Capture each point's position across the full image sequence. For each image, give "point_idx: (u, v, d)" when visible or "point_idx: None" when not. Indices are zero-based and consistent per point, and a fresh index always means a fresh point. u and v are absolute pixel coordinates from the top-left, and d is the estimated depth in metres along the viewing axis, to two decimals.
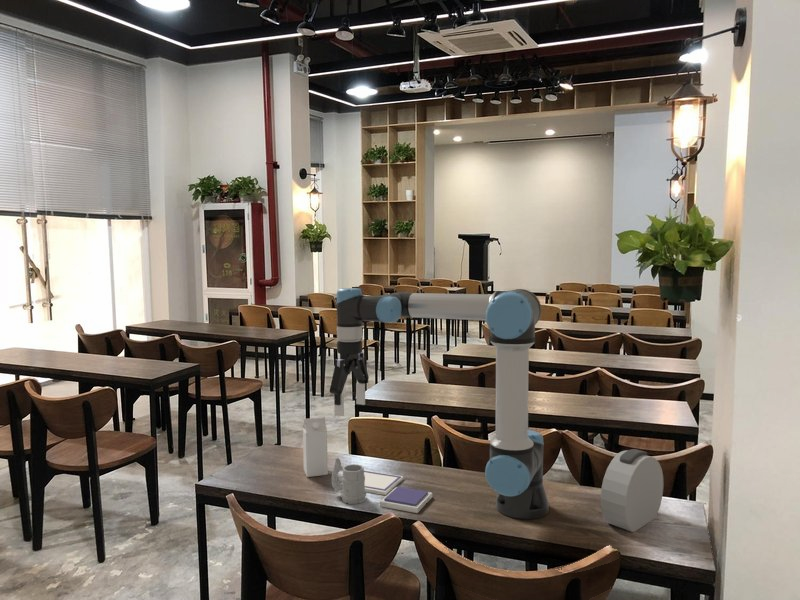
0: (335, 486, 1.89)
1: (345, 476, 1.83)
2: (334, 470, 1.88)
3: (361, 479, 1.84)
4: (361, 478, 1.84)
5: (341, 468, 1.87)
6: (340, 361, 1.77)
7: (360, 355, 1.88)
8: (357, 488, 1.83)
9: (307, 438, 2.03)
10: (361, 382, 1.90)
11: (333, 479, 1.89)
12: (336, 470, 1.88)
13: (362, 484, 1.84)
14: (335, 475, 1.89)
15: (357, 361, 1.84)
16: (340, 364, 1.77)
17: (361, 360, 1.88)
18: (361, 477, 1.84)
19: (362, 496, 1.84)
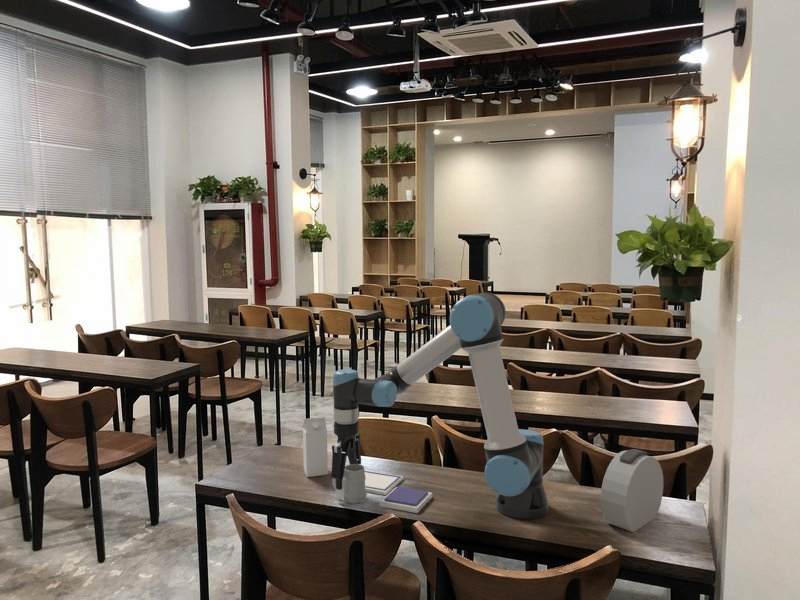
0: None
1: (346, 476, 1.84)
2: None
3: (362, 478, 1.84)
4: (362, 478, 1.84)
5: None
6: (337, 448, 1.80)
7: (356, 436, 1.91)
8: (358, 488, 1.83)
9: (307, 438, 2.03)
10: None
11: (334, 479, 1.89)
12: None
13: (362, 484, 1.85)
14: None
15: (353, 441, 1.87)
16: (337, 451, 1.80)
17: (357, 441, 1.91)
18: (362, 477, 1.84)
19: (362, 496, 1.84)
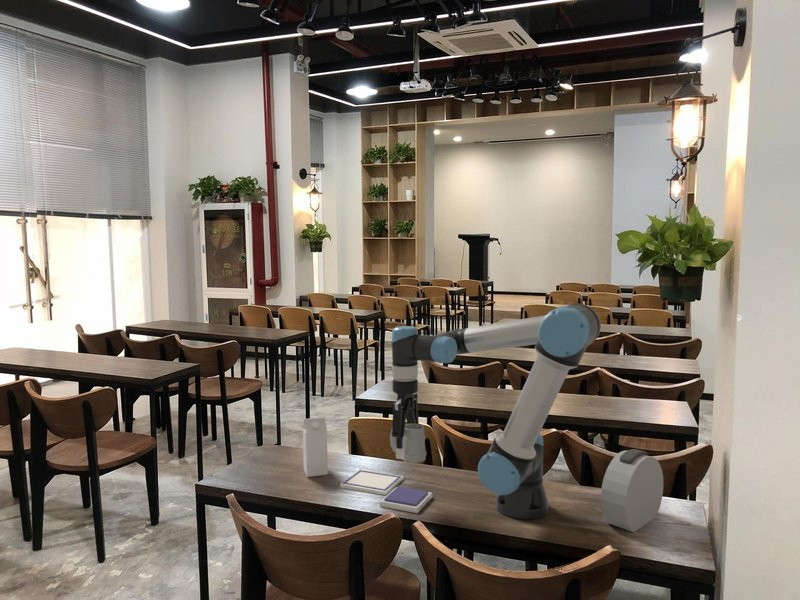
0: (394, 446, 1.84)
1: (406, 434, 1.79)
2: None
3: (422, 437, 1.80)
4: (422, 436, 1.79)
5: None
6: (398, 405, 1.75)
7: (414, 396, 1.86)
8: (418, 446, 1.79)
9: (307, 438, 2.03)
10: None
11: (392, 439, 1.84)
12: None
13: (423, 443, 1.80)
14: None
15: (412, 400, 1.82)
16: (398, 408, 1.75)
17: (414, 401, 1.86)
18: (422, 435, 1.79)
19: (423, 455, 1.79)
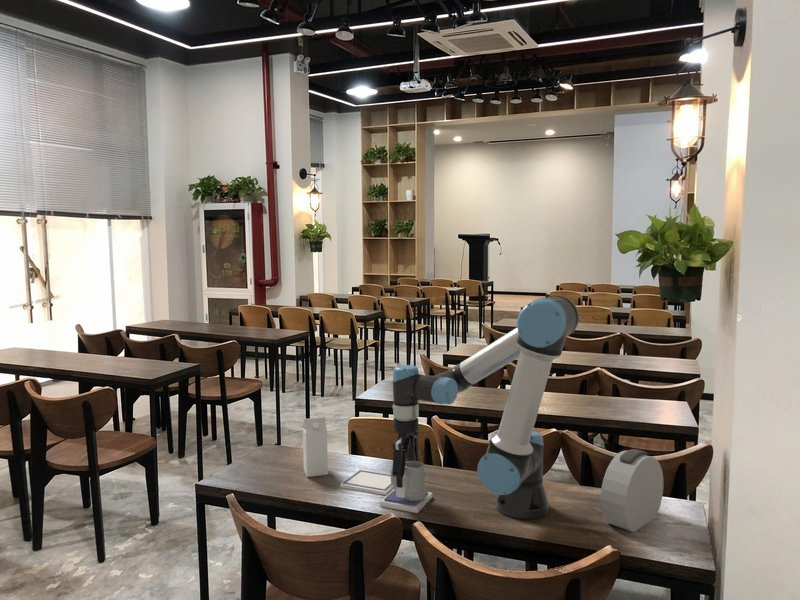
0: (394, 483, 1.85)
1: (406, 473, 1.80)
2: None
3: (422, 475, 1.81)
4: (422, 475, 1.81)
5: None
6: (398, 445, 1.76)
7: (415, 433, 1.87)
8: (418, 485, 1.80)
9: (307, 438, 2.03)
10: None
11: (392, 476, 1.85)
12: None
13: (423, 481, 1.81)
14: None
15: (413, 438, 1.83)
16: (399, 448, 1.76)
17: (415, 438, 1.87)
18: (422, 474, 1.81)
19: (423, 493, 1.80)
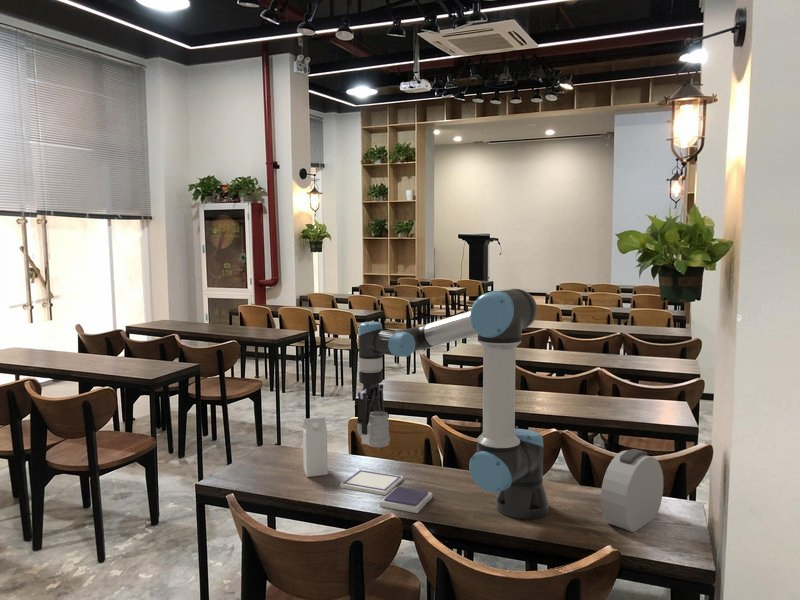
0: (360, 432, 1.99)
1: (371, 421, 1.94)
2: None
3: (386, 423, 1.94)
4: (386, 423, 1.94)
5: None
6: (363, 395, 1.90)
7: (380, 386, 2.01)
8: (382, 432, 1.93)
9: (307, 438, 2.03)
10: None
11: (358, 425, 1.99)
12: None
13: (386, 429, 1.95)
14: None
15: (378, 390, 1.97)
16: (363, 397, 1.90)
17: (380, 391, 2.01)
18: (386, 422, 1.94)
19: (387, 440, 1.94)
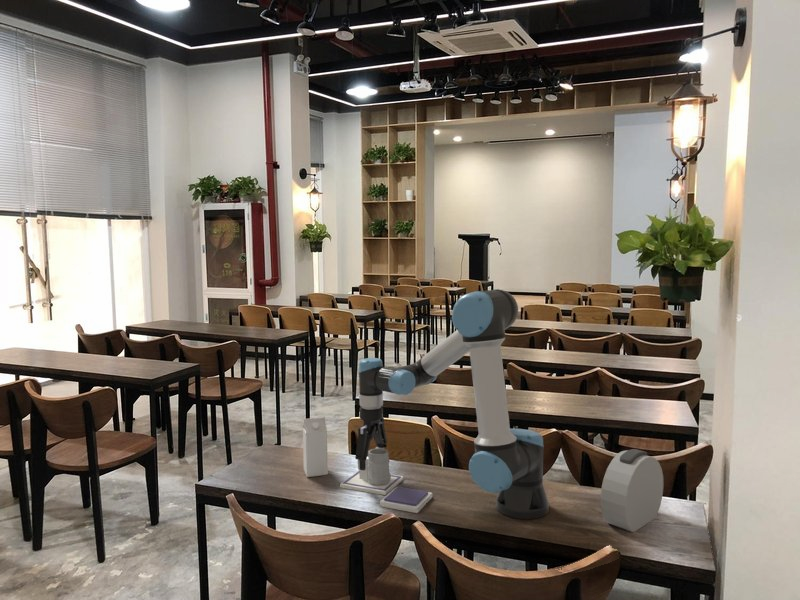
0: None
1: (371, 459, 1.95)
2: None
3: (386, 461, 1.95)
4: (386, 460, 1.95)
5: None
6: (363, 429, 1.91)
7: (380, 420, 2.02)
8: (382, 470, 1.94)
9: (307, 438, 2.03)
10: (380, 446, 2.04)
11: None
12: None
13: (387, 466, 1.96)
14: None
15: (378, 426, 1.98)
16: (363, 432, 1.91)
17: (381, 424, 2.02)
18: (386, 460, 1.95)
19: (387, 477, 1.95)
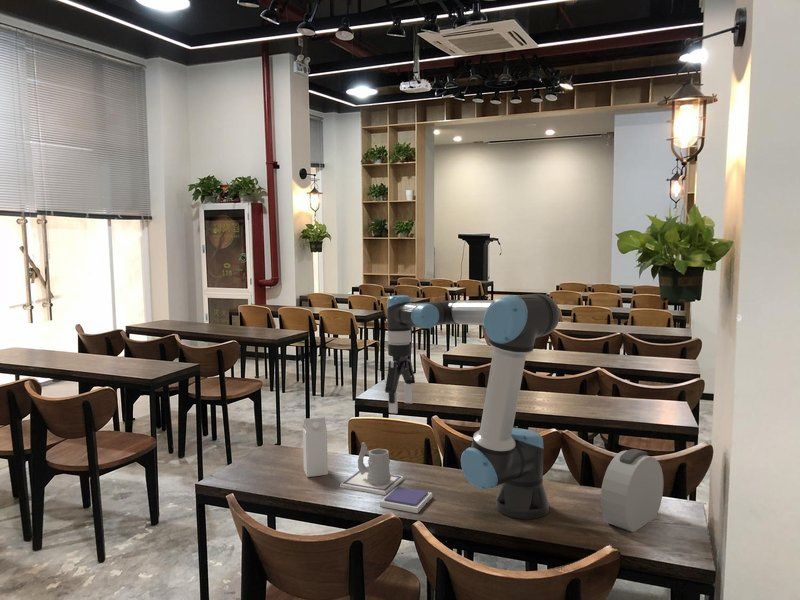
0: (361, 469, 2.00)
1: (371, 459, 1.95)
2: (360, 454, 2.00)
3: (387, 462, 1.95)
4: (386, 461, 1.95)
5: (367, 452, 1.98)
6: (393, 362, 1.92)
7: (408, 357, 2.03)
8: (383, 470, 1.94)
9: (307, 438, 2.03)
10: (408, 382, 2.06)
11: (359, 462, 2.00)
12: (362, 454, 1.99)
13: (387, 467, 1.96)
14: (361, 459, 2.00)
15: (406, 363, 1.99)
16: (394, 365, 1.92)
17: (408, 362, 2.04)
18: (386, 460, 1.95)
19: (387, 478, 1.95)
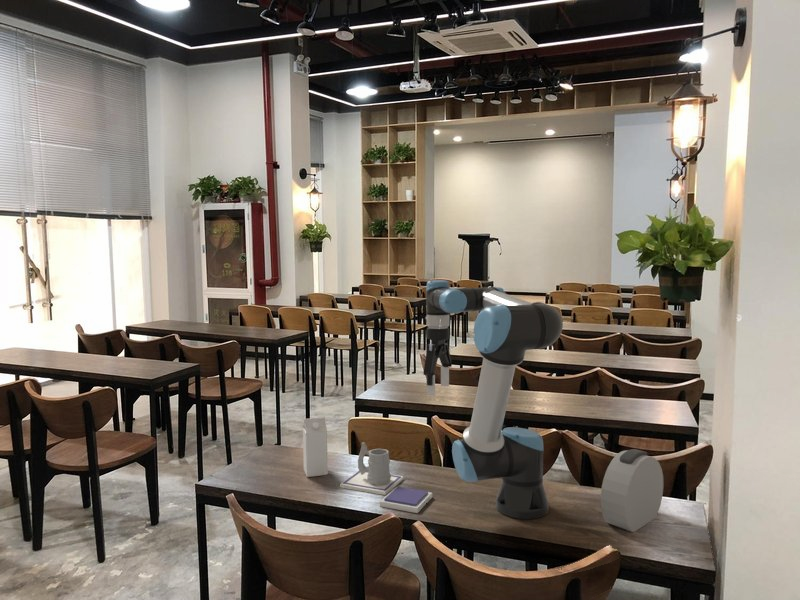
0: (361, 469, 2.00)
1: (371, 459, 1.95)
2: (360, 454, 2.00)
3: (387, 462, 1.95)
4: (386, 461, 1.95)
5: (367, 452, 1.98)
6: (432, 346, 1.96)
7: (445, 341, 2.08)
8: (383, 470, 1.94)
9: (307, 438, 2.03)
10: (445, 366, 2.10)
11: (359, 462, 2.00)
12: (362, 454, 1.99)
13: (387, 467, 1.96)
14: (361, 459, 2.00)
15: (444, 346, 2.03)
16: (432, 348, 1.96)
17: (446, 346, 2.08)
18: (386, 460, 1.95)
19: (387, 478, 1.95)
